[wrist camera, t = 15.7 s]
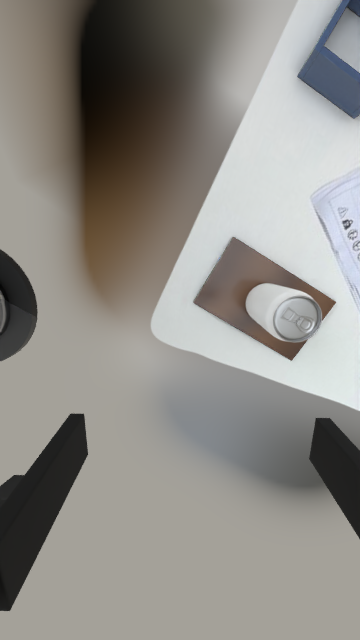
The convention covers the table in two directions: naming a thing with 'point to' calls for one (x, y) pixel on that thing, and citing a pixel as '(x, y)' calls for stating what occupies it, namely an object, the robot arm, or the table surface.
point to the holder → (334, 69)
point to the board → (238, 280)
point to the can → (284, 312)
